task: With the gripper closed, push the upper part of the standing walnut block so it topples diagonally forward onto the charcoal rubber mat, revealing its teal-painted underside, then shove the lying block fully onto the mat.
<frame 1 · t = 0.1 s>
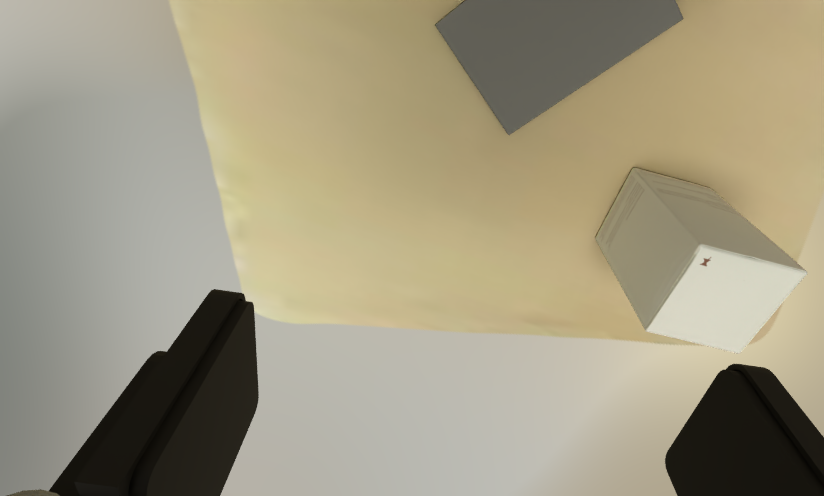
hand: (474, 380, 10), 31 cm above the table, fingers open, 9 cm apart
supplement box: (650, 213, 42), on the table
mat: (555, 21, 34), on the table
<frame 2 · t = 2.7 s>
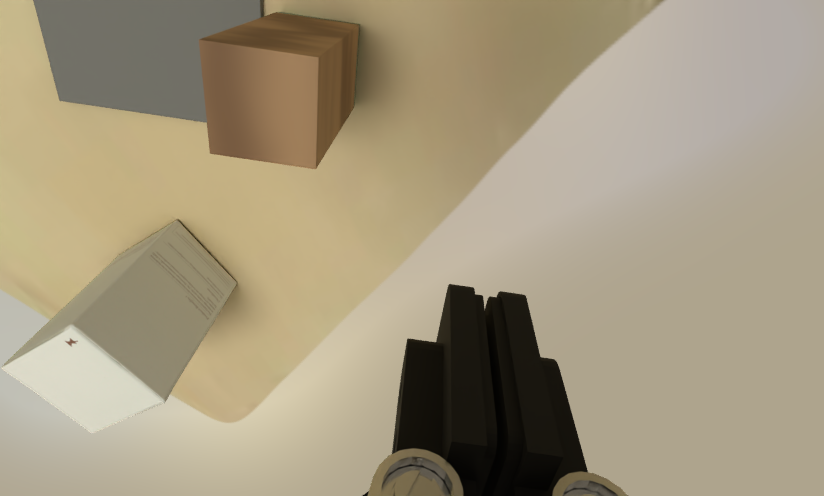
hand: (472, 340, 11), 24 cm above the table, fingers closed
supplement box: (180, 268, 40), on the table
walnut block: (318, 60, 30), on the table
mat: (154, 35, 30), on the table
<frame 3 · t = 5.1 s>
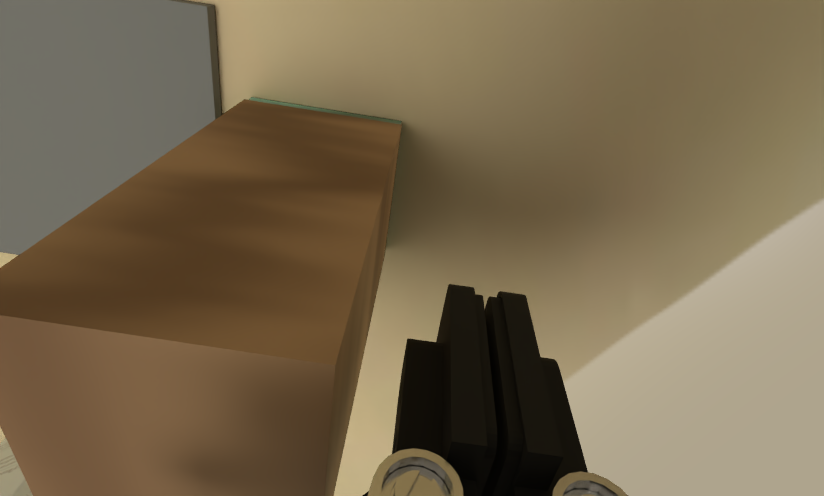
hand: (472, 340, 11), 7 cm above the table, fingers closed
supplement box: (105, 452, 26), on the table
walnut block: (323, 178, 17), on the table, touching gripper
mat: (23, 131, 17), on the table
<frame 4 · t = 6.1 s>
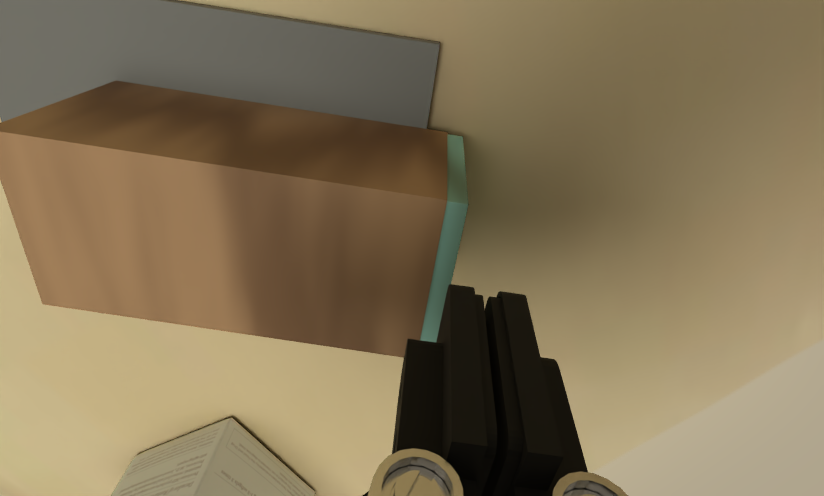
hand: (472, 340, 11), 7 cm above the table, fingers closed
supplement box: (229, 470, 26), on the table
walnut block: (449, 241, 14), point 3 cm above the table, tilted 90°, touching mat
mat: (218, 163, 17), on the table
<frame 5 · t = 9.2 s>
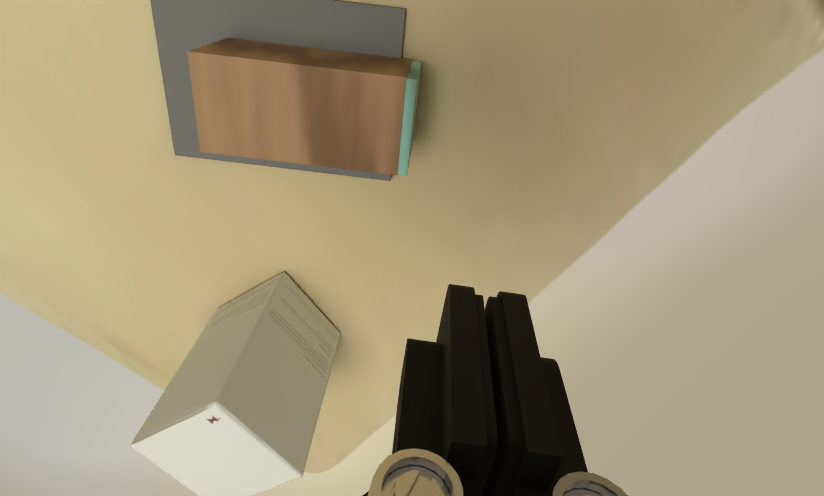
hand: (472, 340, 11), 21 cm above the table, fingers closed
supplement box: (280, 319, 38), on the table
walnut block: (414, 116, 26), point 3 cm above the table, tilted 90°, touching mat
mat: (282, 86, 29), on the table
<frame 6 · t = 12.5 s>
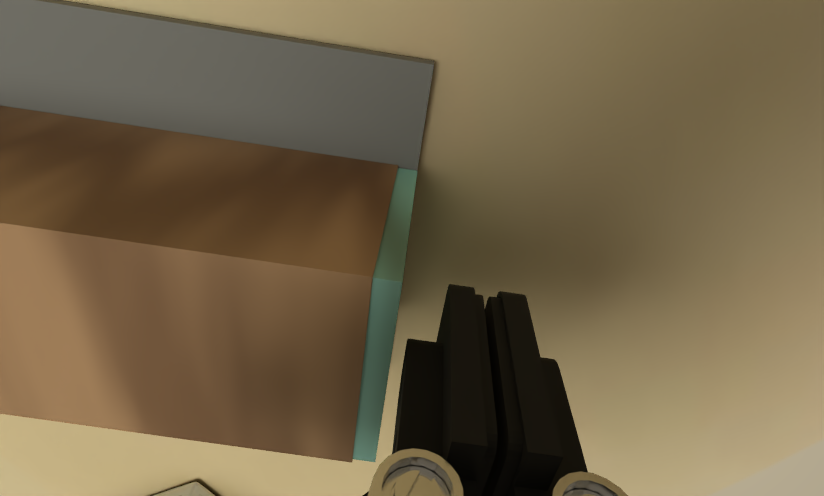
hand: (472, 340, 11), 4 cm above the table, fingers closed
walnut block: (397, 305, 11), point 3 cm above the table, tilted 90°, touching gripper, mat
mat: (165, 203, 14), on the table
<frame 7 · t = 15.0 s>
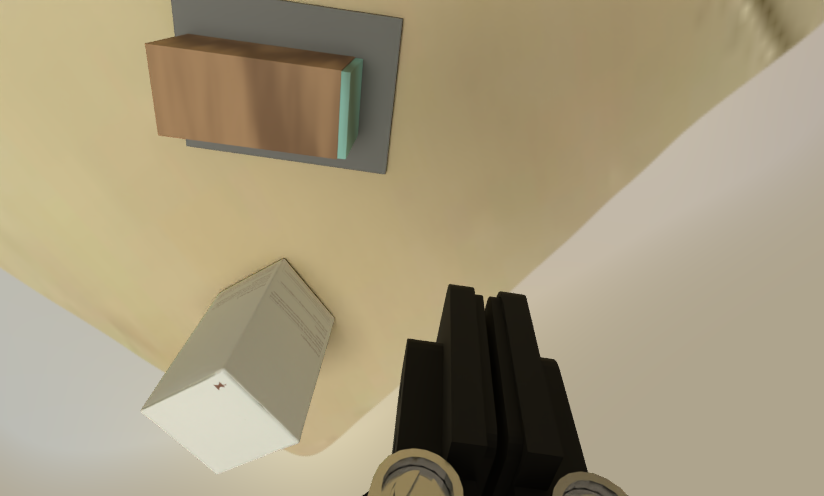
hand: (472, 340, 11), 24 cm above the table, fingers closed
supplement box: (278, 304, 41), on the table
walnut block: (354, 107, 29), point 3 cm above the table, tilted 90°, touching mat
mat: (288, 85, 32), on the table
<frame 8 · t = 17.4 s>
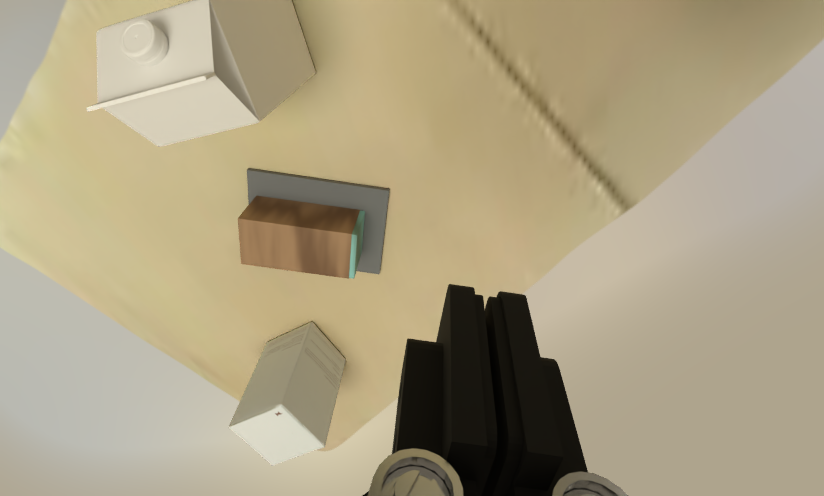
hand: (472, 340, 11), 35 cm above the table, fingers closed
supplement box: (307, 349, 60), on the table
milk carton: (265, 40, 41), on the table
walnut block: (359, 244, 47), point 3 cm above the table, tilted 90°, touching mat
mat: (317, 222, 50), on the table
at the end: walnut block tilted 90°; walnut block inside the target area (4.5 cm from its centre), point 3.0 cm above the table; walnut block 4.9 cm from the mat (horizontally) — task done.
